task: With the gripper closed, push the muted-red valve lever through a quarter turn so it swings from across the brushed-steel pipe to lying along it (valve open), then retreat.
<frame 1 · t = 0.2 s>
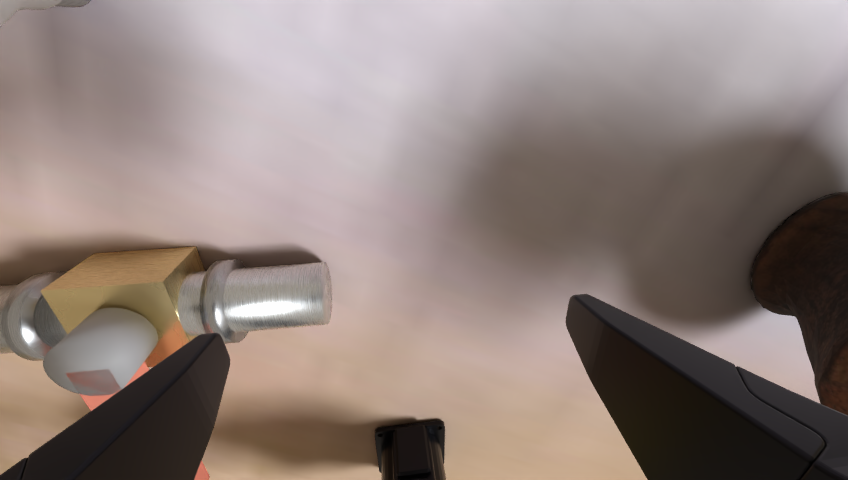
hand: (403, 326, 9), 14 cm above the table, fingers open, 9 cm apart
valve: (162, 288, 24), on the table
lever: (138, 431, 21), point 6 cm above the table, hinge at 0.0°
jug: (821, 246, 29), on the table
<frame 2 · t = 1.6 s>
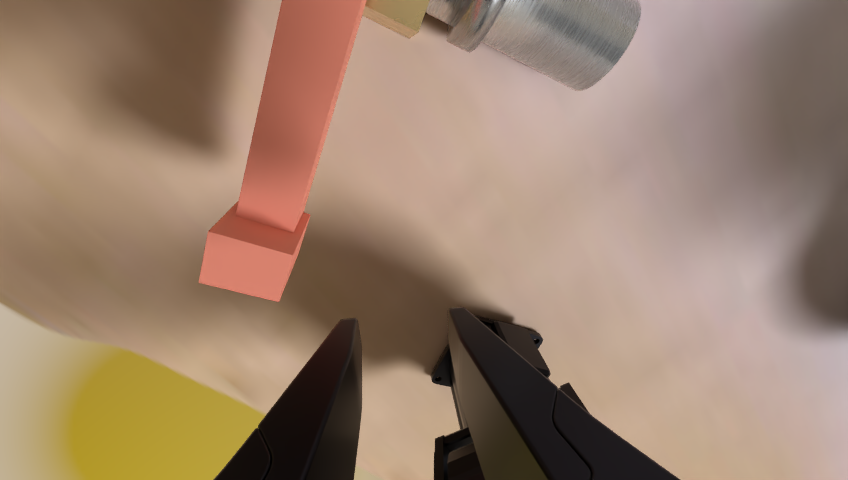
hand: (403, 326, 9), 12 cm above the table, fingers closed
lever: (307, 70, 11), point 6 cm above the table, hinge at 0.0°
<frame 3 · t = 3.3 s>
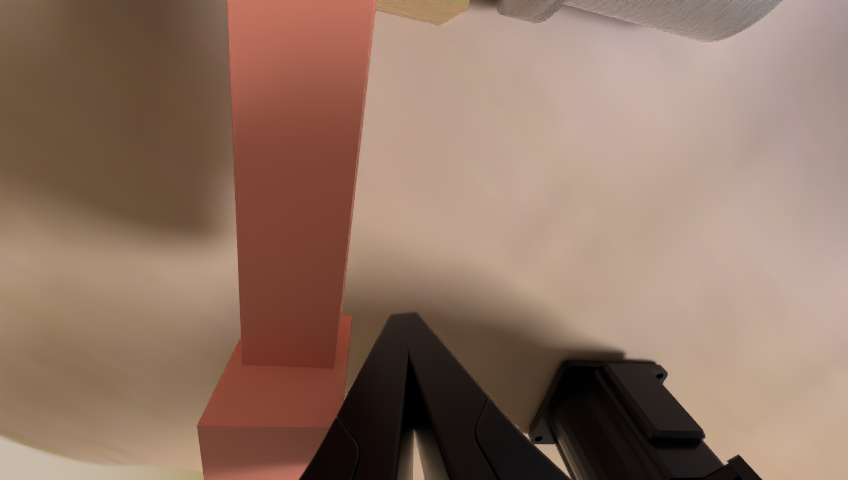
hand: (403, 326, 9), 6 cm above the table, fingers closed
lever: (304, 119, 6), point 6 cm above the table, hinge at 0.1°, touching gripper
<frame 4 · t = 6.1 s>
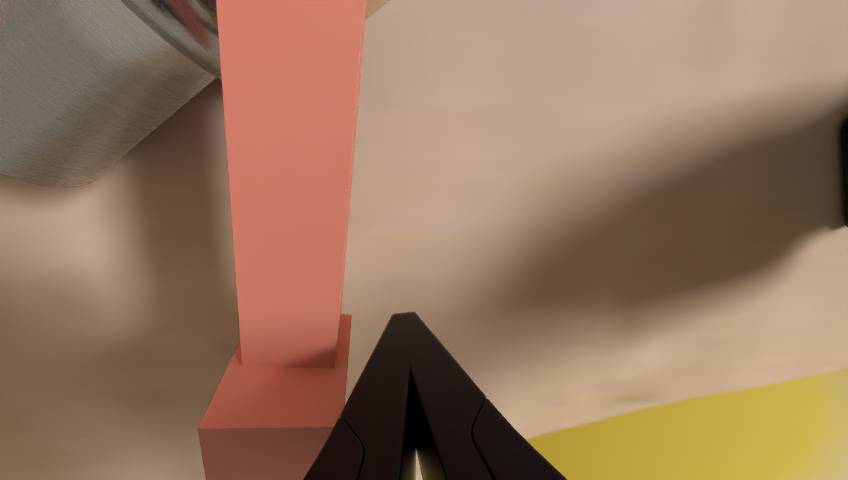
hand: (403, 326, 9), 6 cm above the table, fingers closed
lever: (297, 118, 6), point 6 cm above the table, hinge at 43.5°, touching gripper
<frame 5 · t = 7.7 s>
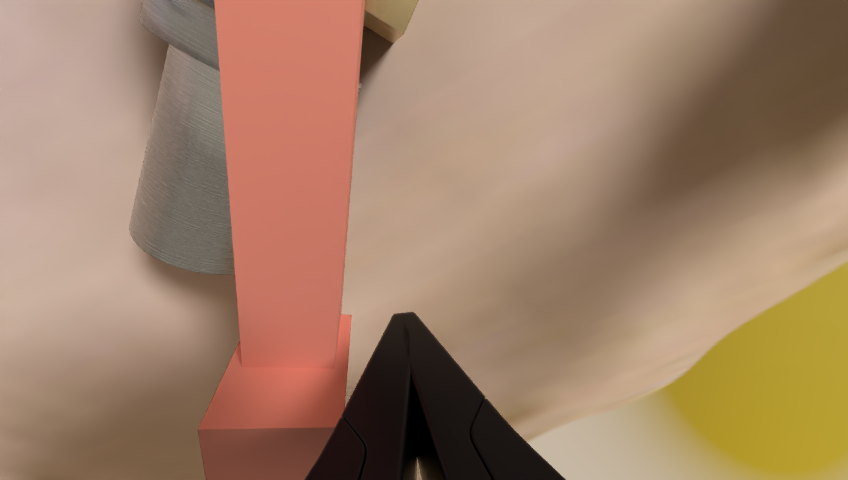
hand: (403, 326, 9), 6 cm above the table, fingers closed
lever: (296, 117, 6), point 6 cm above the table, hinge at 71.4°, touching gripper
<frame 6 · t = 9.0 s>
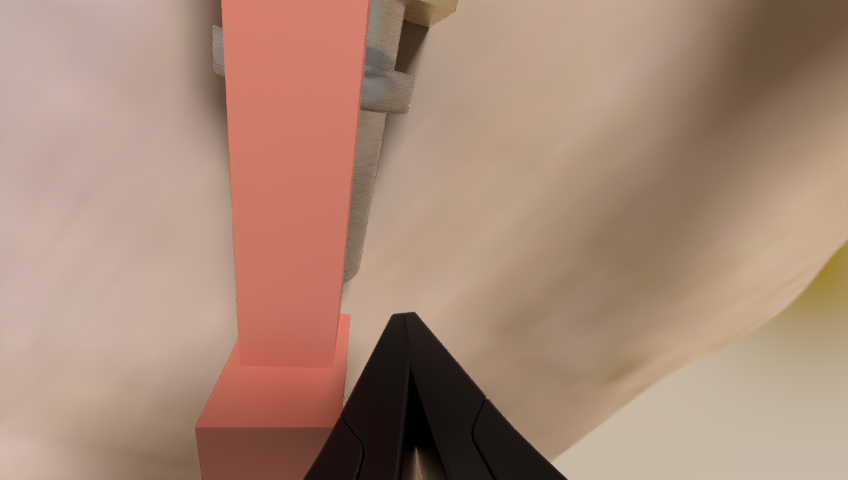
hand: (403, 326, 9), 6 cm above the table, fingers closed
lever: (300, 116, 6), point 6 cm above the table, hinge at 87.4°, touching gripper
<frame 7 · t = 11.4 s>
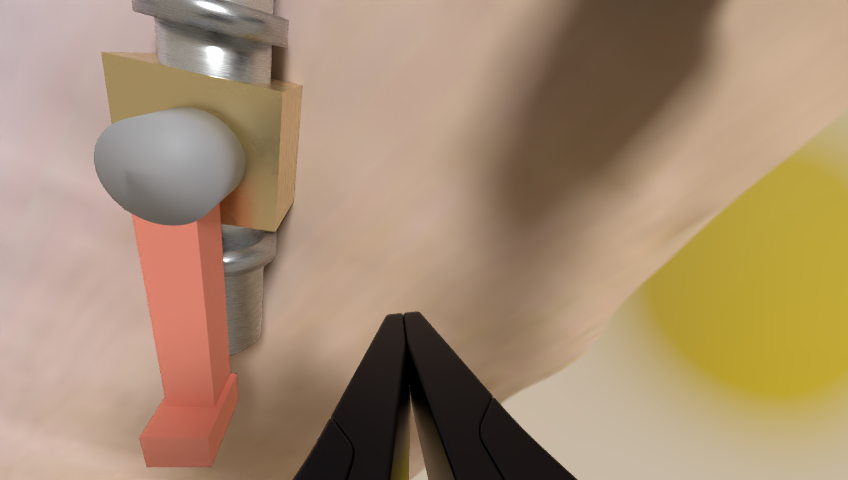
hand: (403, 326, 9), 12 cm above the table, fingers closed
valve: (235, 135, 18), on the table
lever: (185, 303, 14), point 6 cm above the table, hinge at 87.9°
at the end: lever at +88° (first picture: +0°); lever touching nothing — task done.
